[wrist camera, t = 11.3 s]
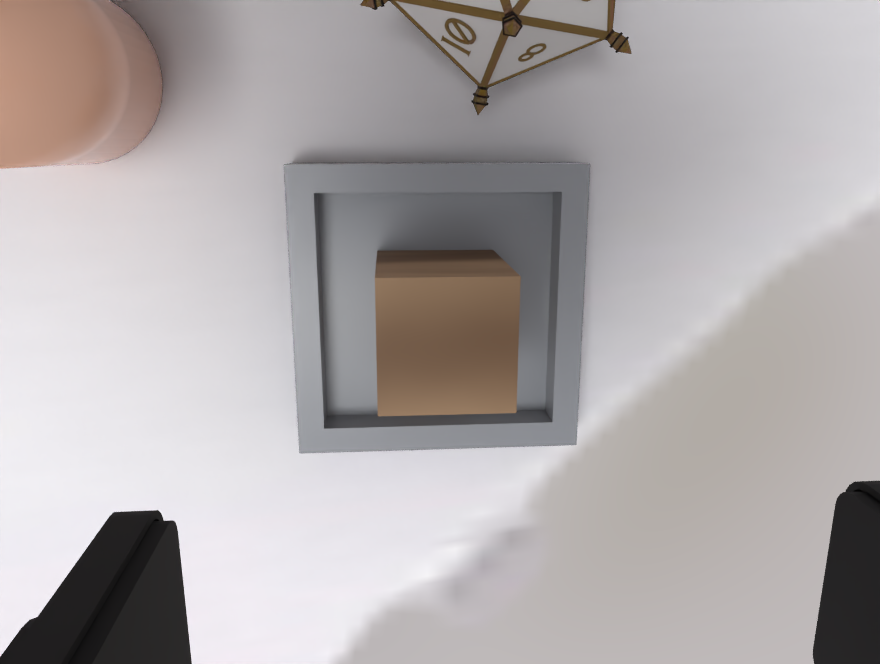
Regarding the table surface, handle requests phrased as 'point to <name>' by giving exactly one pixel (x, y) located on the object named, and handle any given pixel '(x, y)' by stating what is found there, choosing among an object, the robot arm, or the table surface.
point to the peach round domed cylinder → (73, 82)
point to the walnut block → (446, 332)
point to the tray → (432, 228)
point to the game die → (509, 33)
